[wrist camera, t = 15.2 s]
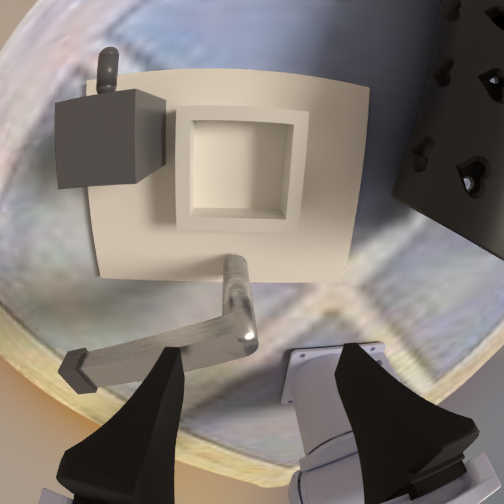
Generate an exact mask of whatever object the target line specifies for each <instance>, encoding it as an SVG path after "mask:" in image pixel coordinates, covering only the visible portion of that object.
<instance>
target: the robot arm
mask: <svg viewBox="0 0 504 504" xmlns="http://www.w3.org/2000/svg"><path fill="white" fill-rule="evenodd" d="M385 347H386V345H385V343H384V342H377V343H369V344H360V345H358V344H357V343H347V344H344V346H340V347H328V348H315V349H298V350H294V351H292V352H291V354H290V359H289V364H288V369H287V374H286V379H285V384H284V388H283V393H282V397H281V403H282V404H284V405H288V404H294V407H295V411H296V416H297V420H298V425H299V429H300V434H301V439H302V443H303V448H304V452H305V457H304V458H301V459H299V464H300V469H301V470H298V471H296V472H295V473H294V474H293V476H292V478H291V481H290V483H289V487H288V498H289V504H479V503H480V502H481V501H483V500H484V499H486V498H487V497H488V496H490V495H491V494H492V493H494V492H495V491H496V490H497V489H499V488H500V487H501V485H500V482H499V480H498V478H497V476H496V474H495V472H494V470H493V468H492V466H491V464H490V462H489V460H488V459H487V457H486V455H485V453H484V452H482V453H481V454H479V455H477V456H476V457H474V458H473V459H471V460H469V461H468V462H466V463H465V464H463V462H462V460H463V459H464V458H465V456H464V454H463V451H464V450H466V448H468V447H469V446H470V445H471V444H472V443H473V442H474V441H475V439H476V438H477V437H478V436H479V432H480V431H479V430H478V428H477V426H476V425H475V423H474V421H473V420H472V419H470V418H467V417H464V416H461V415H458V414H455V413H452V412H450V411H447V410H445V409H443V408H441V407H439V406H437V405H435V404H433V403H431V402H429V401H427V400H425V399H424V398H422V397H420V396H419V395H417V394H416V393H414V392H413V391H411V390H410V389H408V388H407V387H406V386H404V385H403V384H402V383H401V381H400V380H399V378H398V376H397V374H396V373H395V371H394V369H393V367H392V366H391V364H390V362H389V360H388V359H387V357H386V355H385V353H384V350H385ZM301 354H303V355H301ZM184 380H185V377H184V371H183V364H182V358H181V351H180V347H167V346H166V347H165V348H164V349H163V351H162V353H161V354H160V356H159V358H158V360H157V361H156V363H155V364H154V366H153V368H152V369H151V371H150V372H149V374H148V375H147V377H146V378H145V379H144V381H143V382H142V384H141V385H140V386H139V388H138V389H137V390H136V391H135V393H134V394H133V395H132V396H131V398H130V399H129V400H128V401H127V402H126V403H125V405H124V406H123V407H122V408H121V409H120V410H119V411H118V412H117V413H116V414H115V415H114V416H113V417H112V418H111V419H110V420H108V421H107V422H106V423H105V424H104V425H103V426H102V427H100V428H99V429H98V430H96V431H95V432H94V433H93V434H91V435H90V436H89V437H87V438H86V439H84V440H83V441H82V442H80V443H78V444H76V445H75V446H73V447H71V448H70V449H68V450H66V451H65V453H64V455H63V457H62V459H61V462H60V465H59V469H58V472H57V476H56V478H57V480H58V482H59V483H60V484H61V485H63V486H64V487H65V488H66V489H68V490H69V491H70V492H72V493H73V494H74V499H73V500H72V499H70V498H68V497H65V496H63V495H60V494H58V493H55V492H53V491H50V490H48V489H46V488H43V489H42V492H41V496H40V500H39V504H175V502H174V464H175V463H174V462H175V445H176V437H177V432H178V426H179V420H180V415H181V409H182V403H183V396H184Z"/></svg>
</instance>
